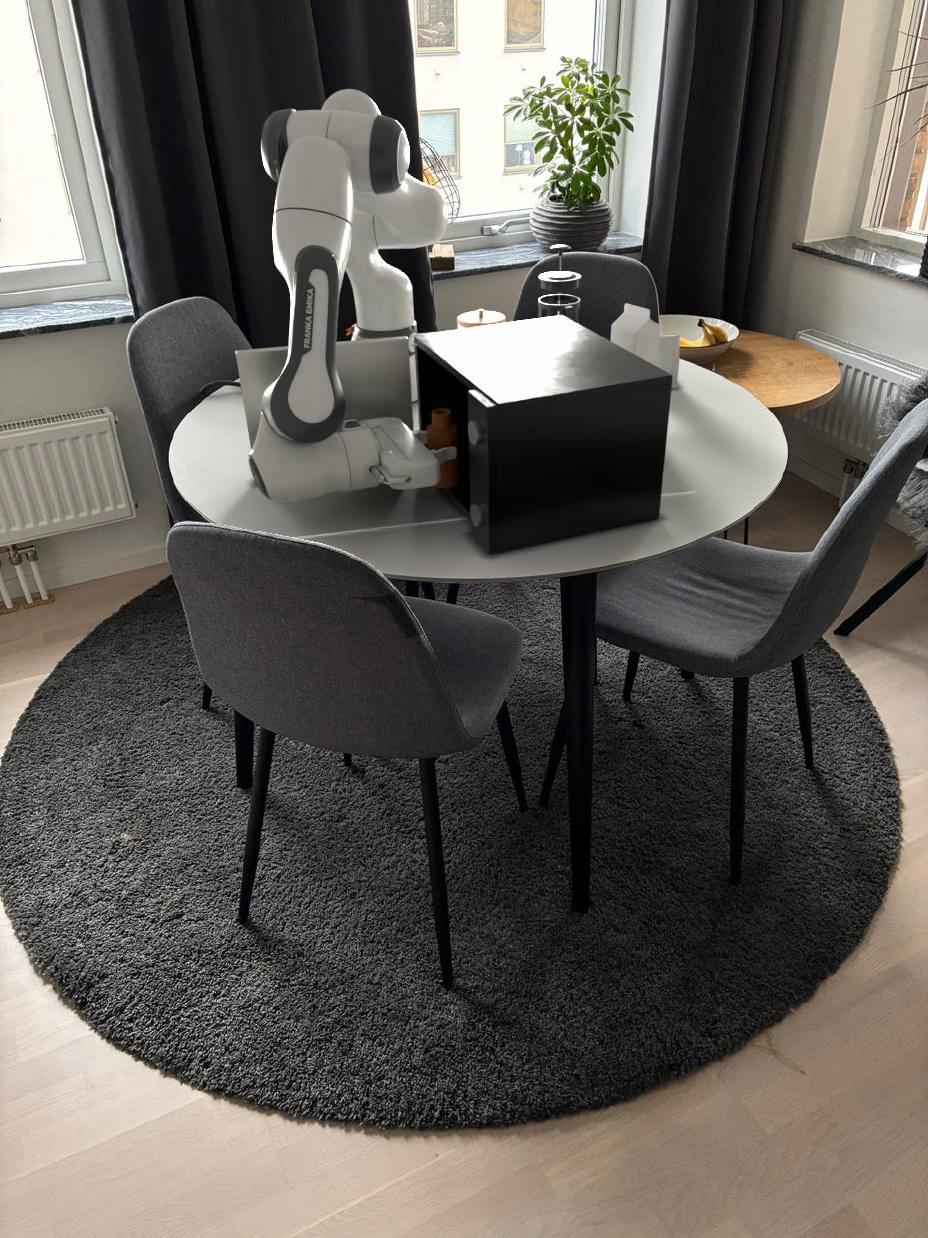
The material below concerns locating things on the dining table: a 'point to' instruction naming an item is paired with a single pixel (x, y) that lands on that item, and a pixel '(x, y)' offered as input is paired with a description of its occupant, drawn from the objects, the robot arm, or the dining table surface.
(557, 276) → the french press
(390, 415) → the microwave door
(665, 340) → the white small box
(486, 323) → the trinket box
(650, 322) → the milk
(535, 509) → the microwave
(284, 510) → the dining table surface
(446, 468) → the bottle
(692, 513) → the dining table surface
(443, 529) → the dining table surface
